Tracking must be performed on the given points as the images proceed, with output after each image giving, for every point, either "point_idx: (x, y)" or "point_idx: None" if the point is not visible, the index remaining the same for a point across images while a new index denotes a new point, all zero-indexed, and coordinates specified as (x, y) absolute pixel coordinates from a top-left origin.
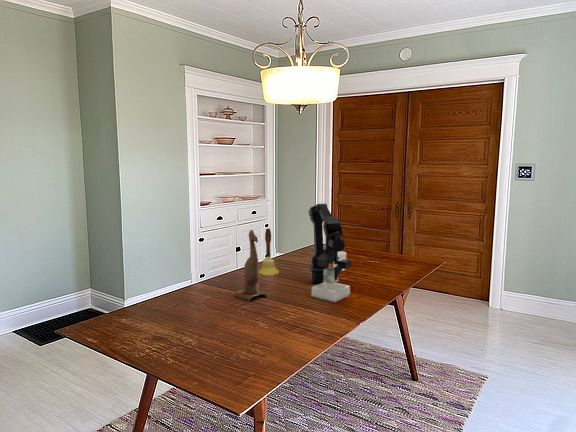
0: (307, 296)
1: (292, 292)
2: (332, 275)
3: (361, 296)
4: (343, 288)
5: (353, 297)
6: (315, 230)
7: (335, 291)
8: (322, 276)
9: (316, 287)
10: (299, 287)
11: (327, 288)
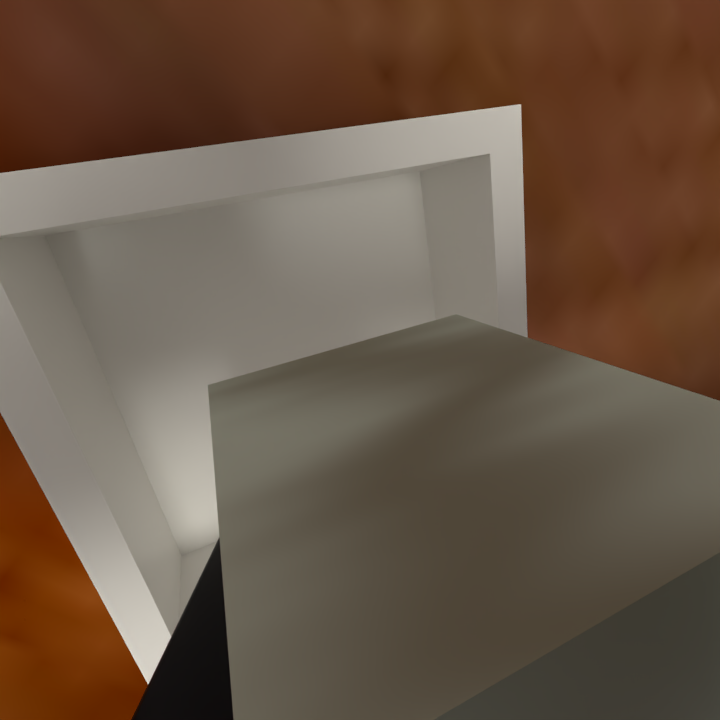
0: (465, 97)
1: (654, 77)
2: (223, 529)
3: (27, 671)
4: (96, 541)
5: (53, 570)
6: None
7: (1, 285)
8: None
9: (480, 215)
10: (671, 268)
11: None
